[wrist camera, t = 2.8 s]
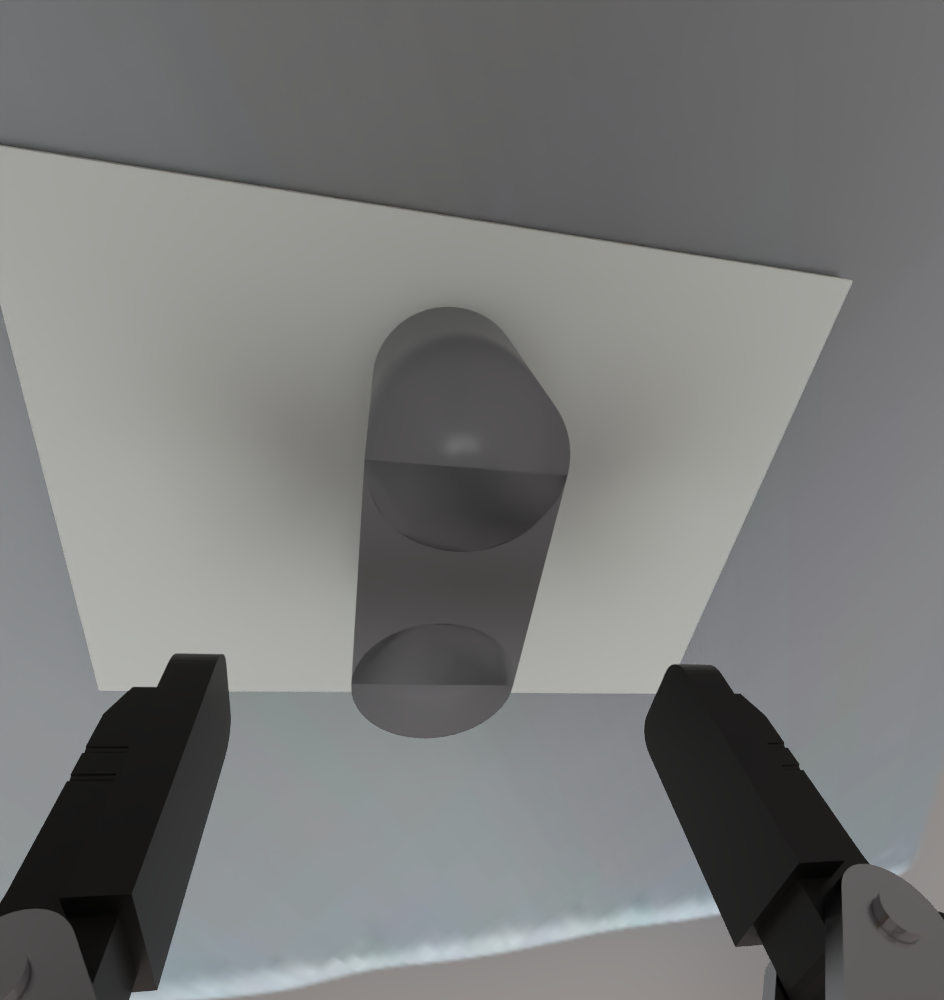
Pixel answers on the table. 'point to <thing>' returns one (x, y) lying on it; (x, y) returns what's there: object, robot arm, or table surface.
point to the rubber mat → (345, 412)
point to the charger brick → (451, 523)
